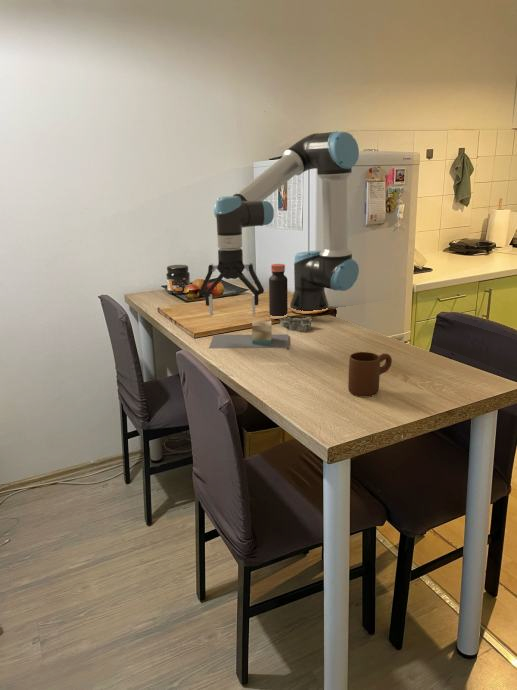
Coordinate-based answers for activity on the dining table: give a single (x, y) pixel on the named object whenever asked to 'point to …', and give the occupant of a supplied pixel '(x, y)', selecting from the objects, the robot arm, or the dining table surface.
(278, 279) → the bottle
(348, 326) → the dining table surface
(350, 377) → the mug
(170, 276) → the supplement container
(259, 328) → the maple cube
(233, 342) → the rubber mat
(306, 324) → the egg carton
